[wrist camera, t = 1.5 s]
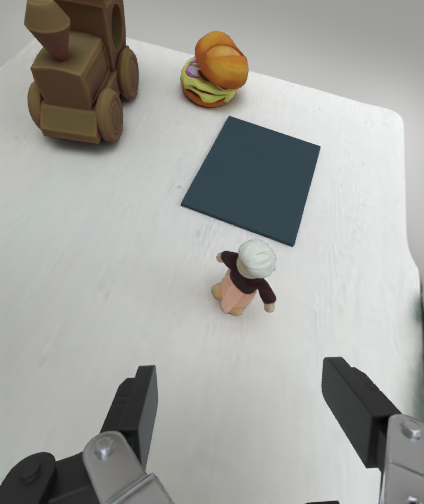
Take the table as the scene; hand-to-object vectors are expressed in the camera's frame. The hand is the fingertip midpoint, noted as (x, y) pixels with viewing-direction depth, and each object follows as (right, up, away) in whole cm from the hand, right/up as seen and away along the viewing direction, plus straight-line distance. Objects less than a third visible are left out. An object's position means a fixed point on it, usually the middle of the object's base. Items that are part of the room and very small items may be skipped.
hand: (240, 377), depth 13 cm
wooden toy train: (-20, +29, +32) cm, 48 cm away
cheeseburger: (-1, +34, +37) cm, 50 cm away
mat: (+5, +18, +28) cm, 34 cm away
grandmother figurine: (+1, 0, +19) cm, 19 cm away
